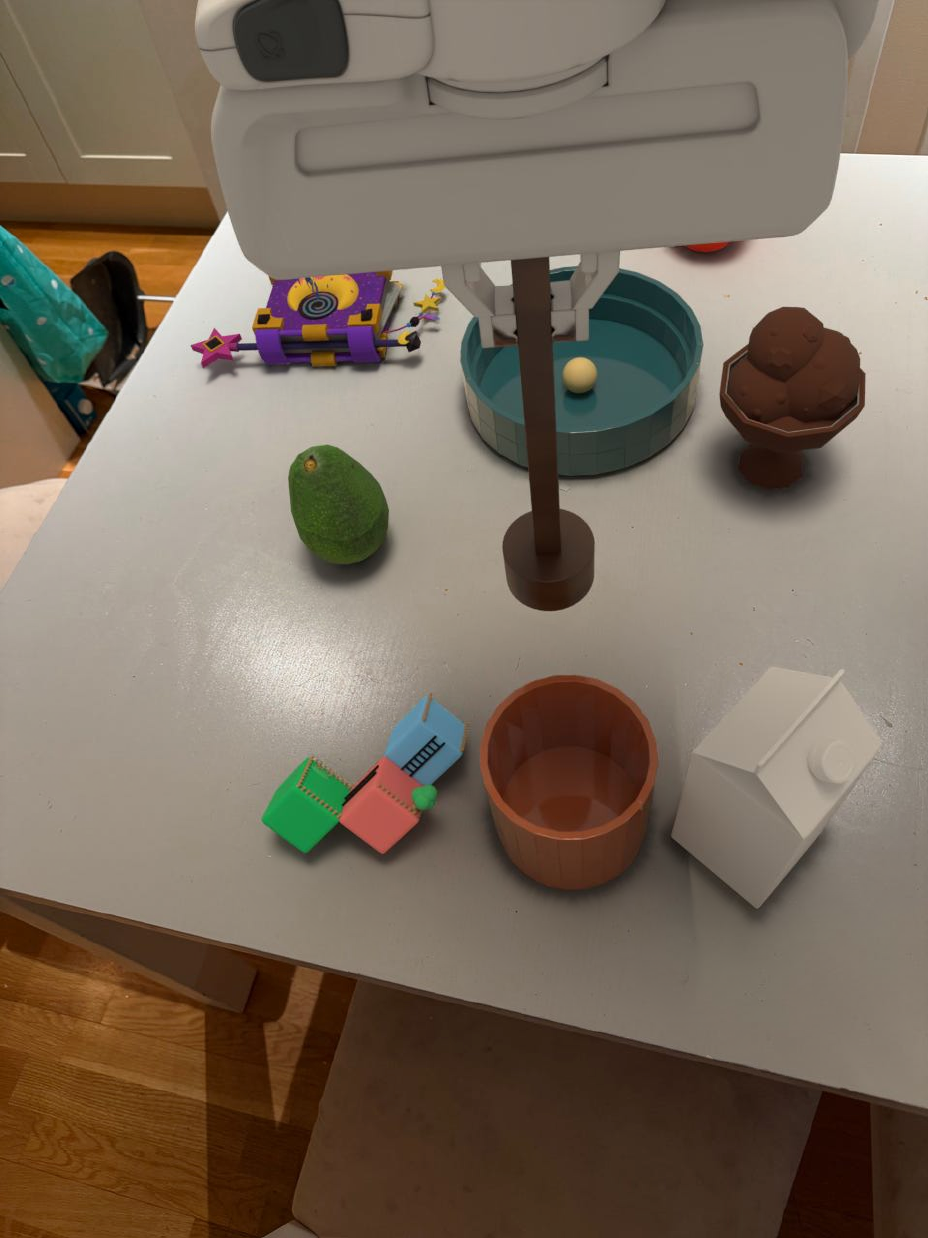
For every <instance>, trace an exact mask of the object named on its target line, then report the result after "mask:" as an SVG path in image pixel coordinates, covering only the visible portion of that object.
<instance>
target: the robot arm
mask: <svg viewBox="0 0 928 1238" xmlns="http://www.w3.org/2000/svg"><path fill="white" fill-rule="evenodd" d="M878 4H879V0H197V5H196V11H195V19H194V34H195V35H194V36H195V40H196V43H197V47H198V49H199V52H200V55H201V57H202V60H203V62H204V64H205V66H206V68H207V71H208V72H209V73H210V75H211V76H212V78H213V79H214V80H215V81H216V82H217V83H218V84H220V85H219V89H218V92H217V96H216V99H215V103H214V107H213V109H212V113H211V119H210V138H211V147H212V153H213V158H214V161H215V166H216V172H217V175H218V180H219V185H220V187H221V192H222V196H223V199H224V203H225V206H226V210H227V213H228V217H229V220H230V224H231V226H232V229H233V233H234V235H235V238H236V241H237V244H238V245H239V249H240V250H241V252H242V255H243V256H244V258H245V259H246V260H247V261H248V262H249V263H250V264H252V265H253V266H255V268H257V269H258V270H260V271H261V272H262V273H264V274H265V275H266V276H270V277H272V278H273V279H277V280H288V279H298V278H309V277H320V276H332V275H343V274H355V273H367V272H378V271H390V270H393V271H399V270H409V269H410V270H411V269H412V270H413V269H422V268H423V269H424V268H425V269H426V268H434V267H440V269H441V274H442V280H443V281H444V286H445V288H446V289H447V290H448V291H449V293H450V294H451V295H452V296H453V297H455V299H456V300H457V301H458V302H459V303H460V304H461V305H462V306H463V307H464V308H465V309H466V310H467V311H468V312H469V313H470V314H471V315H472V316H473V317H478V320H479V327H480V335H481V343H482V347H483V348H493V347H506V346H518V335H517V330H516V329H517V324H516V313H515V306H514V294H513V285H511V284H509V285H495V283H494V282H493V281H492V280H491V278H490V277H489V276H488V274H487V273H486V271H485V270H483V269H484V268H482V263H493V262H495V263H496V262H505V261H511V260H519V259H531V258H543V257H549V258H555V257H564V256H565V257H566V256H575V255H576V256H577V255H579V257H580V262H579V264H578V265H577V266H578V267H577V268H576V270H575V272H574V273H573V275H572V277H571V278H570V280H566V281H557V282H550V286H551V326H552V343H553V342H574V341H588V339H589V309H590V308H593V306H594V305H595V304H596V302H597V301H598V300H599V298H600V297H601V296H602V294H603V293H604V291H605V290H606V289H607V287H608V286H609V285H610V283H611V282H612V281H613V279H614V278H615V276H616V275H617V274H618V272H619V268H620V261H621V252H623V251H635V250H647V249H659V248H669V247H681V246H685V245H695V244H706V243H718V242H729V243H730V242H741V241H742V242H743V241H753V240H763V239H764V240H765V239H775V238H787V237H794V236H798V235H800V234H801V233H803V232H804V231H806V230H807V229H808V228H809V227H810V226H812V224H813V223H815V222H816V220H817V219H818V218H819V217H821V216H822V214H824V213H825V212H826V210H827V209H828V208H829V207H830V205H831V202H832V199H833V195H834V192H835V187H836V182H837V178H838V172H839V166H840V158H841V154H842V153H841V152H842V145H843V137H844V129H845V120H846V111H847V110H846V108H847V95H848V80H849V79H848V78H849V77H848V75H849V74H848V73H849V72H848V71H849V70H848V69H849V66H848V64H849V63H848V62H849V61H850V60H851V59H852V58H853V57H854V56H855V55H856V54H857V52H858V51H859V50H860V48H861V47H862V46H863V44H864V42H865V41H866V40H867V37H868V36H869V33H870V31H871V29H872V26H873V24H874V20H875V18H876V13H877V9H878Z"/></svg>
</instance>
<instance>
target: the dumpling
mask: <svg viewBox="0 0 928 1238" xmlns="http://www.w3.org/2000/svg"><path fill="white" fill-rule="evenodd" d="M562 378H563V382H564V385H565V386H566V387H567V389H569V390H570V391H572V392H574V393H584V392H587V391H589V390H590V389H591V388H592V387H593V386H594V385H595V383H596V380H597V369H596V367H595V365H594V364H593V363H592V362H591V361H590V360H589V359H586V358H583V357H578V358H574V359H572V360H570V361H569V362H568V363H567V364H566V366H565V367H564V369H563V373H562Z"/></svg>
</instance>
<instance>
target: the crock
mask: <svg viewBox="0 0 928 1238" xmlns="http://www.w3.org/2000/svg"><path fill="white" fill-rule="evenodd" d="M482 733H483V734H482V737H481V740H480V743H479V769H480V772H481V778H482V781H483V784H484V788H485V792H486V795H487V799H488V803H489V807H490V810H491V811H490V812H491V814H492V818H493V821H494V826H495V829H496V832H497V833H496V834H497V837H498V839H499V842H500V843H501V846H502V849H503V850H504V852H505V854H506V855H507V857H508V858H509V859H510V861H511V862H512V863H513V864H514V865H515V866H516V868H518V869H519V870H520V871H521V872H522V873H523V874H524V875H526V876H527V877H529V878H530V879H532V880H534V881H536V882H538V883H540V884H542V885H544V886H547V887H551V888H554V889H559V890H568V891H569V890H571V891H577V890H578V891H579V890H586V889H591V888H595V887H599V886H601V885H604V884H606V883H608V882H609V881H612V880H614V879H615V878H616V877H618V876H619V875H621V874H622V873H623V872H624V871H625V870H627V868H628V867H630V865H631V864H632V863H633V861H634V860H635V859H636V857H637V855H638V854H639V852H640V850H641V848H642V846H643V843H644V841H645V838H646V833H647V828H648V823H649V819H650V813H651V812H650V811H651V807H652V801H653V795H654V790H655V784H656V779H657V775H658V774H657V773H658V768H659V754H658V741H657V739H656V736H655V733H654V731H653V729H652V726H651V723H650V721H649V719H648V718H647V717H646V715H645V714H644V712H643V711H642V709H641V708H640V706H638V704H637V703H636V702H635V701H634V700H632V698H630V697H629V696H628V695H627V694H626V693H624V692H623V691H622V690H621V689H619V688H617V687H616V686H614V685H611V684H609V683H607V682H605V681H603V680H601V679H599V678H593V677H589V676H584V675H580V674H555V675H551V676H550V675H549V676H546V677H542V678H538V679H535V680H532V681H530V682H528V683H526V684H524V685H522V686H520V687H519V688H517V689H515V690H514V691H512V693H510V694H508V696H507V697H506V698H504V700H502V701H501V703H499V704H498V706H497V707H496V708H495V710H494V711H493V713H492V714H491V715H490V717H489V719H488V721H487V722H486V723H485V727H484V730H483V732H482Z"/></svg>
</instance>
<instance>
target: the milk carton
mask: <svg viewBox="0 0 928 1238" xmlns="http://www.w3.org/2000/svg"><path fill="white" fill-rule="evenodd" d="M845 672H846V670H845V669H843V668H841V669H839V671H837V673H836V675H835V676H827V675H821V674H817V673H811V672H805V671H804V672H803V671H799V670H794V669H788V668H783V667H777V666H770V667H768V669H767V670H766V671H765V672H764V673H763V674H762V675H761V676H760V677H759V678H758V680H757V681H755V682H754V684H753V685H752V686H751V687H750V688H749V689H748V691H746V693H745V694H744V695H743V696H742V697H741V698H740V699H738V701H737V702H736V703H735V704H734V706H732V708H731V709H730V710H729V711H728V712H727V713H726V714H725V715H724V716H723V718H721V720H720V721H719V722H718V723H717V724H716V725H715V726H714V727H713V728H712V729H711V731H709V733H708V734H707V735H706V736H705V737H704V738H703V739H702V740H701V741H700V742H699V744H698V745H697V746H696V747H695V748H694V749H693V751H692V753H691V758H690V761H689V765H688V769H687V773H686V776H685V781H684V785H683V789H682V792H681V796H680V800H679V803H678V808H677V811H676V814H675V819H674V823H673V827H672V830H671V834H670V838H672V840H674V841H675V842H676V843H677V844H679V846H681V847H682V848H684V849H685V851H687V852H688V853H689V854H691V855H692V856H693V857H694V858H695V859H697V860H698V861H699V862H700V863H701V864H702V865H704V867H706V868H707V869H709V870H710V871H711V872H712V873H713V874H714V875H716V877H718V878H719V879H720V880H722V882H724V883H725V884H726V885H727V886H729V887H730V888H732V890H733V891H735V892H736V893H737V894H738V895H739V896H741V898H743V899H744V900H745V901H746V902H748V903H749V904H750V905H751V906H752V907H753V908H755V909H757V910H758V909H759V908H760V907H761V906H762V905H763V904H764V903H765V901H767V899H769V897H770V896H771V894H772V893H773V892H774V891H775V890H776V888H777V887H778V886H780V884H781V882H782V881H783V880H784V879H785V878H786V877H787V875H788V874H789V873H790V871H792V869H793V867H795V865H796V864H797V863H798V862H799V861H800V859H802V857H803V856H804V855H805V854H806V852H807V851H808V850H809V849H810V848H811V846H813V844H814V842H815V841H816V840H817V839H818V837H819V836H820V835H821V833H822V832H823V831H824V830H825V828H826V827H827V825H828V824H829V822H830V820H831V819H833V816H834V815H835V814H836V812H837V811H838V809H839V808H840V807H841V805H842V804H843V803H844V801H845V800H846V799H847V797H848V796H849V794H850V793H851V792H852V790H853V789H854V788H855V786H856V784H857V783H858V782H859V780H860V779H861V777H862V776H863V775H864V773H865V772H866V770H867V769H868V768H869V766H870V765H871V763H872V762H873V761H874V760H875V758H876V756H877V755H878V753H879V752H880V751H881V749H882V746H883V741H882V740H881V737H880V736H879V734H878V733H877V732H876V730H875V729H874V728H873V726H872V725H871V723H870V721H869V720H868V718H867V717H866V716H865V714H864V712H862V710H861V708H860V707H859V705H858V704H857V703H856V701H855V699H854V698H853V697H852V695H851V694H850V692H849V691H848V689H847V687H846V686H845V685H844V683H843V681H842V680H841V679H842V677H844V674H845Z"/></svg>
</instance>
